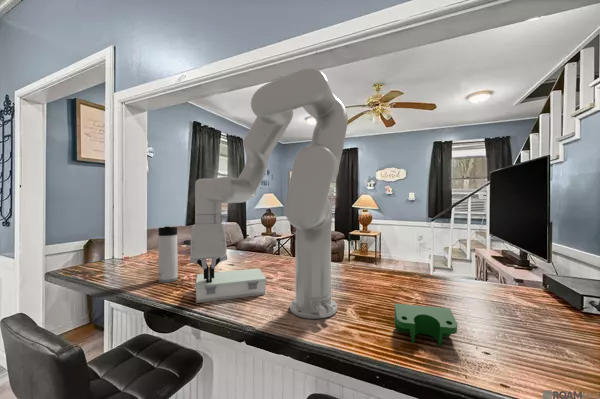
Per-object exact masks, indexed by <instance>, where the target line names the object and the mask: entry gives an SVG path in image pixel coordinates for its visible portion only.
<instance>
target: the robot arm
mask: <svg viewBox="0 0 600 399" xmlns="http://www.w3.org/2000/svg"><path fill="white" fill-rule="evenodd" d="M250 107H251V111H252V113H253V114H254V115H255V116H256V118H255V120H254V122H253V123H252V124H251V127H250V128H249V130H248V131H247V133H246V135H245V136H244V138H243V140H242V146H243V148H244V152H245V154H246V155H245V156H246V161H245V165H244V167H243V169H242V171H241V173H240V174H239V176H238V177H233V176H221V177H216V178H199V179H196V181H195V184H194V207H195V208H194V211H195V213H194V219H195V220H194V224H193V225H192V227H191V234H190V250H189V251H190V252H189V253H190V258H189V263H191V264H197V265H199V266H200V267H201V269H203V274H204V279H206V283H207V282H212V278H214V273H215V268H216V267H217V265H219V264H220V263H221V262H224V261H227V260H228V259H229V258H228V255H227V248H228V247H227V234H226V233H227V232H226V227H225V224H224V223H223V221H226V220H227V219H228V218H227V217H228V216H227V215H224V214H223V212H222V211H223V209H222V205H223V204H234V203H235V204H238V203H239V204H240V203H246V202H247V201H249V200H250V199H251V198H252V197H253V196H254V194H255V193H256V191H257V189H258V188H259V187H260V185H261V183H262V182H263V180H264V177H265V175H266V172H267V168H268V164H269V159H270V156H271V155H272V153H273V151H274V149H275V148H276V146H277V144H278V143H279V141H280V139H281V138H282V136H283V135H284V134H285V132H286V130H287V128H288V127H289V125H290V123H291V122H292V120H293V117H294V111H295V110H297V109H299V108H303V109H304V111H305V112H306V113H307V114H308V115H310V116H311V117H313V118H314V119H315V122H316V124H315V126H314V129H313V132H312V137H311V142H310V144H308V145H307V146H305V147H302V149H301V150H299V152H298V153H297V155H296V158H294V161H293V165H292V170H291V174H290V179H289V184H288V188H287V193H286V196H285V203H284V213H285V216H286V219H287V221H288V222H289V224H290V225H292V226H293V228H295V229H296V230H295V241H294V242H295V244H294V246H295V249H294V250H295V252H294V254H295V256H294V257H295V299H293V300H292V301H291V302H290V303H289V310H290V312H291V313H292V314H294V315H295V316H297V317H300V318H303V319H310V320H311V319H312V320H315V319H316V320H317V319H324V318H328V317H332V316H333V315H335V314H336V312H337V311H338V304H337V302H336V301H335V300H334V299H332V223H333V222H332V221H333V208H332V203H331V201H330V199H329V192H330V186H331V184H332V183H333V182H335V180H336V179H337V177H338V175H339V171H340V163H341V159H342V155H343V152H344V151H343V150H344V145H345V139H346V135H347V130H348V125H349V124H348V123H349V122H348V121H349V117H348V111H347V109H346V107H345V106H344V104H343V102H342V101H341V100H340V99H339V98H337V96H336V95H335V93H333V91H332V88H331V85H330V83H329V80H328V78H327V77H326V75H325V74H324V73H323V72H322V71H321V70H319V69H317V68H314V67H308V68H302V69H300V70H297V71H295V72H292V73H289V74H288V75H285V76H282V77H280V78H277V79H275V80H272V81H270V82H267V83H266V84H264V85H262V86H260V87H259V88H258V89H256V91H255V92H254V93H253V95H252V97H251V101H250ZM207 259H211V263H210V265H209V264H208V261H207Z"/></svg>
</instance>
